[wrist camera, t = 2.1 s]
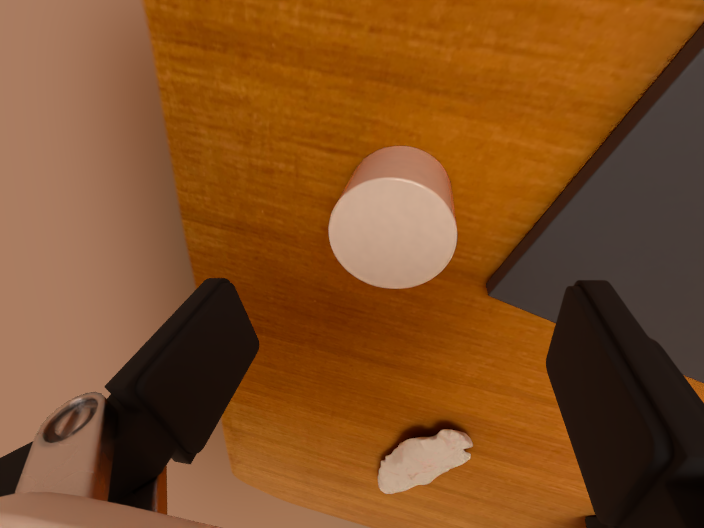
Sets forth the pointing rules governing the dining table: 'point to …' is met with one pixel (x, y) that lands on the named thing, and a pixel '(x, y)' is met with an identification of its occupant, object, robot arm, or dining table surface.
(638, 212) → the board
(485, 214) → the dining table surface
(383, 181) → the white cylinder
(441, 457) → the stone tool
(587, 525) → the ceramic cat
